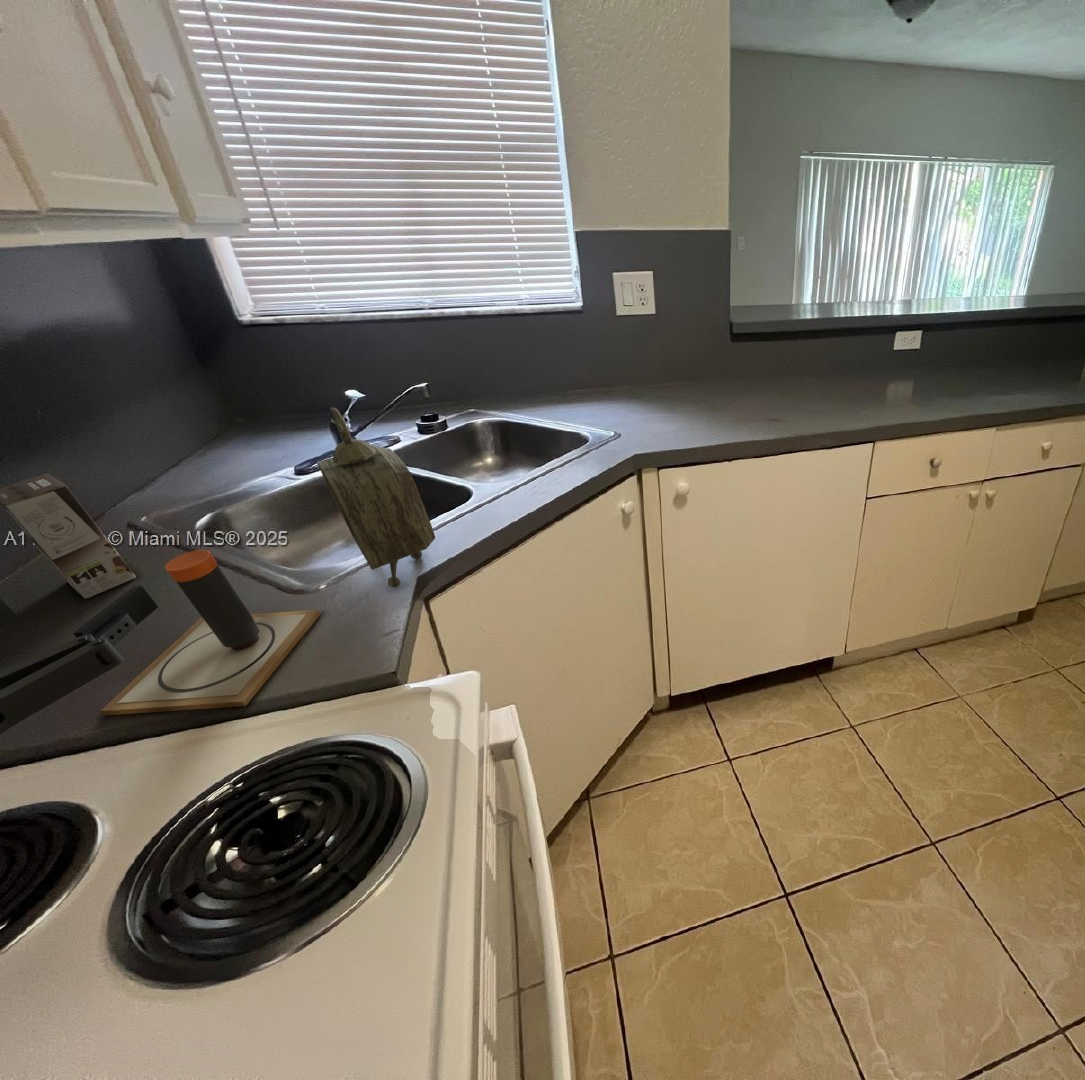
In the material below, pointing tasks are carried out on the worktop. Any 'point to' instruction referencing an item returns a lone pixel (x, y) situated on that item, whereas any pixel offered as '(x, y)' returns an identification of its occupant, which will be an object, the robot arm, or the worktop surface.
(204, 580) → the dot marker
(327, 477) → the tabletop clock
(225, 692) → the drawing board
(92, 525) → the coffee box
